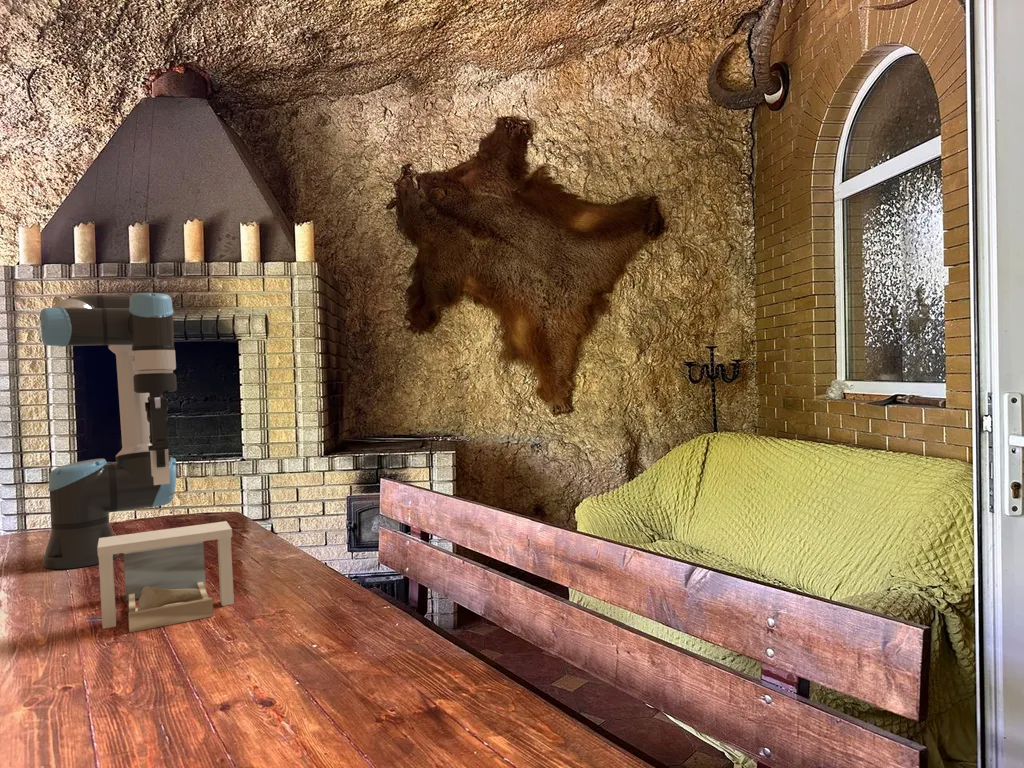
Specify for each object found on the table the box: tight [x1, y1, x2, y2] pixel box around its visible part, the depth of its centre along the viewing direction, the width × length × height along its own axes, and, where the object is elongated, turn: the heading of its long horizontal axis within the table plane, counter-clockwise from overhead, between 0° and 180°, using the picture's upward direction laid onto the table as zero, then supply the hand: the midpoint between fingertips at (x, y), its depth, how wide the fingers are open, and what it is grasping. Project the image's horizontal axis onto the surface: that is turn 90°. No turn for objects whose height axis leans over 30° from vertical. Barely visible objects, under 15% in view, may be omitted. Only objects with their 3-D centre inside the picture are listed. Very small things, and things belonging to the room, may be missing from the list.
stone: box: [137, 586, 203, 611], centre depth 125 cm, size 11×6×5 cm, turn 142°
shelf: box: [97, 520, 235, 630], centre depth 124 cm, size 8×21×14 cm, turn 119°
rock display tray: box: [123, 541, 214, 633], centre depth 129 cm, size 23×14×9 cm, turn 29°
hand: (160, 479), depth 137 cm, fingers open, 13 cm apart
